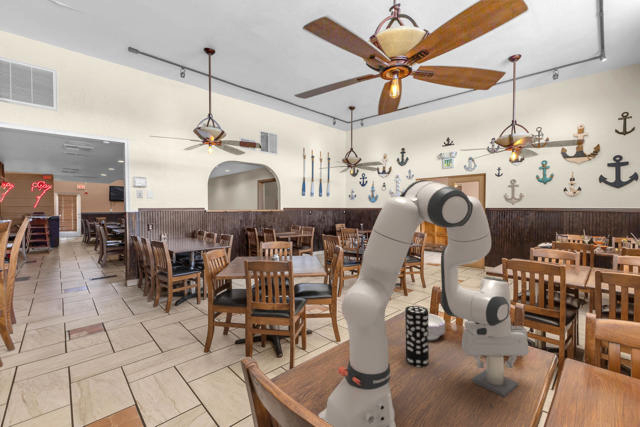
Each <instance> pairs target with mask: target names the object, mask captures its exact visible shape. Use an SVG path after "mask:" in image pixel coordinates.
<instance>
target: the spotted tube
mask: <svg viewBox="0 0 640 427" xmlns="http://www.w3.org/2000/svg"><path fill="white" fill-rule="evenodd" d="M404 310H405V361H406V363H407V364H408V365H410V366H412V367H416V368H425V367H427V366H429V364H430V363H429V353H430V352H429V350H430V349H429V340H428V313H429V310H428V308H426V307H423V306H420V305H419V306H417V305H410V306H406V307H405V309H404Z"/></svg>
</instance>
